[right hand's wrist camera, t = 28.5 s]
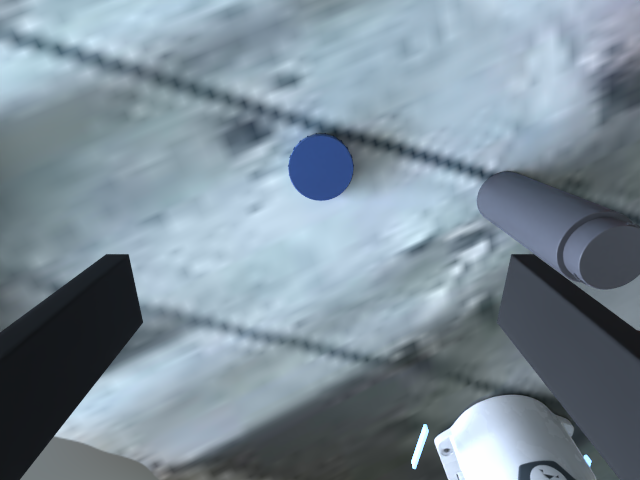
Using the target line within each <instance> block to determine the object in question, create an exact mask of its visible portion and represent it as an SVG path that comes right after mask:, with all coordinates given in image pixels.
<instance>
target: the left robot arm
mask: <svg viewBox="0 0 640 480" xmlns="http://www.w3.org/2000/svg"><path fill="white" fill-rule="evenodd" d="M573 432H574V427H573V426H572V424H571V422H570V421H569V420H568V419H566V418H564V417H561V416H558V415H555V414H554V413H552V412H551V411H550V410H549V409H548V407H547V406H545V405H544V404H543V403H542V402H540V401H538V400H536V399H534V398H531V397H528V396H523V395H501V396H496V397H492V398H489V399H486V400H483V401H481V402H479V403H477V404H475V405H473V406H472V407H470V408H469V409H467V410H466V411H465V412H464V413H463V414H462V415H461V416H460V417H459V418H458V419H457V420H456V422H455V423H454V424H453V425H452V426H451V427H450V428H449V429H447V430H446V431H444V432H442V433H441V434H439V435H438V436H437V437H436V438H435V441H434V442H435V445H436V448H437V451H438V453H439V456H440V459H441V461H442V464H443V466H444V469H445V472H446V474H447V477H448V480H597V479H596V476H595V474H594V473H593V471H592V470H591V468H590V465H591V460H590V459H589V457H588V456H587V455H584V457H583V455H582V454H581V452H580V451H579V449H578V447H577V446H576V444H575V443H574V441H573V440H572V438H571V437H572V435H573ZM427 434H428V428H427V425H425V424H424V426H423V429H422V432H421V435H420V438H419V441H418V444H417V447H416V450H415V453H414V455H413V458H412V461H411V462H412V466H413V469H415V468H416V466H417V463H418V460H419V457H420V454H421V451H422V448H423V446H424V443H425V440H426V437H427Z"/></svg>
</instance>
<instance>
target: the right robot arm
mask: <svg viewBox="0 0 640 480" xmlns="http://www.w3.org/2000/svg"><path fill="white" fill-rule="evenodd" d="M142 323H143V320H142V315H141V310H140V306H139V301H138V296H137V292H136V287H135V282H134V278H133V273H132V268H131V263H130V259H129V254H106V255H105V256H103V257H102V258H101V259H99V260H98V261H97V262H95V263H94V264H93V265H91V266H90V267H88V268H87V269H86V270H84V271H83V272H82V273H80V274H79V275H78V276H76V277H75V278H74V279H72V280H71V281H69V282H68V283H67V284H65V285H64V286H63V287H61V288H60V289H59V290H57V291H56V292H55V293H53V294H52V295H50V296H49V297H48V298H46V299H45V300H44V301H42V302H41V303H40V304H38V305H37V306H36V307H34V308H33V309H31V310H30V311H29V312H27V313H26V314H25V315H23V316H22V317H21V318H19V319H18V320H17V321H15V322H14V323H12V324H11V325H10V326H8V327H7V328H6V329H4V330H3V331H2V332H0V480H20V479H21V477H22V476H23V475H24V474H25V472H26V471H27V470H28V468H29V467H30V466H31V465H32V463H33V462H34V461H35V460H36V458H37V457H38V456H39V454H40V453H41V452H42V451H43V449H44V448H45V447H46V446H47V444H48V443H49V442H50V440H51V439H52V438H53V437H54V435H55V434H56V433H57V432H58V430H59V429H60V428H61V426H62V425H63V424H64V423H65V421H66V420H67V419H68V417H69V416H70V415H71V414H72V412H73V411H74V410H75V409H76V407H77V406H78V405H79V403H80V402H81V401H82V400H83V398H84V397H85V396H86V395H87V393H88V392H89V391H90V389H91V388H92V387H93V386H94V384H95V383H96V382H97V381H98V379H99V378H100V377H101V375H102V374H103V373H104V372H105V370H106V369H107V368H108V366H109V365H110V364H111V363H112V361H113V360H114V359H115V358H116V356H117V355H118V354H119V352H120V351H121V350H122V349H123V347H124V346H125V345H126V344H127V342H128V341H129V340H130V338H131V337H132V336H133V335H134V333H135V332H136V331H137V329H138V328H139V327H140V326H141V324H142ZM497 323H498V324H499V326H500V327H501V328H502V330H503V331H504V332H505V333H506V335H507V336H508V337H509V338H510V340H511V341H512V342H513V344H514V345H515V346H516V347H517V349H518V350H519V351H520V352H521V354H522V355H523V356H524V358H525V359H526V360H527V361H528V363H529V364H530V365H531V366H532V368H533V369H534V370H535V372H536V373H537V374H538V375H539V377H540V378H541V379H542V381H543V382H544V383H545V384H546V386H547V387H548V388H549V389H550V391H551V392H552V393H553V395H554V396H555V397H556V398H557V400H558V401H559V402H560V403H561V405H562V406H563V407H564V409H565V410H566V411H567V412H568V414H569V415H570V416H571V417H572V419H573V420H574V421H575V423H576V424H577V425H578V426H579V428H580V429H581V430H582V432H583V433H584V434H585V435H586V437H587V438H588V439H589V440H590V442H591V443H592V444H593V446H594V447H595V448H596V449H597V451H598V452H599V453H600V454H601V456H602V457H603V458H604V460H605V461H606V462H607V463H608V465H609V466H610V467H611V468H612V470H613V471H614V472H615V474H616V475H617V476H618V477H619V479H620V480H640V331H638V330H636V329H634V328H633V327H632V326H630V325H629V324H627V323H626V322H625V321H623V320H622V319H621V318H619V317H618V316H617V315H615V314H614V313H613V312H611V311H610V310H609V309H607V308H606V307H604V306H603V305H602V304H600V303H599V302H598V301H596V300H595V299H594V298H592V297H591V296H590V295H588V294H587V293H585V292H584V291H583V290H581V289H580V288H579V287H577V286H576V285H575V284H573V283H572V282H571V281H569V280H568V279H566V278H565V277H564V276H562V275H561V274H560V273H558V272H557V271H556V270H554V269H553V268H552V267H550V266H549V265H547V264H546V263H545V262H543V261H542V260H541V259H539V258H538V257H537V256H535V255H534V254H511V259H510V263H509V268H508V273H507V278H506V282H505V287H504V292H503V296H502V301H501V306H500V310H499V315H498V320H497Z"/></svg>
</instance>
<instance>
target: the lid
mask: <svg viewBox="0 0 640 480" xmlns="http://www.w3.org/2000/svg"><path fill="white" fill-rule="evenodd" d="M293 150H294V151H293V153H292V155H290V160H289V165H288V167H289V176H290V179H291V182H292V184H293V185H294V187H295V188H296V189H297V190H298V192H300V193H301V194H302V195H304V196H305V197H307V198H310V199H313V200H319V201H322V200H329V199H332V198H335V197H337V196H338V195H340V194H341V193H342V192H343V191H344V190H345V189H346V188H347V187H348V185H349V183H350V181H351V179H352V175H353V166H354V165H353V161H352V156H351V155H350V153H349V151H348V147H346V146H345V145H344V144H343V143H342V141H340V140H339V139H337V138H336V137H334V136H331V135H327V134H326V133H325V134H317V133H316V134H314V135H311V136H307V137H306V138H305V139H303V140H302V141H301V140H300V142H299V143H298V145H297V146H296V147H294V149H293Z"/></svg>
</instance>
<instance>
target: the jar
mask: <svg viewBox="0 0 640 480" xmlns="http://www.w3.org/2000/svg"><path fill="white" fill-rule="evenodd" d="M477 206H478V209H479V211H480V213H481V214H482V215H483V216H484V217H485V218H486V219H488V220H489V221H490V222H492V223H493V224H495V225H496V226H497V227H499V228H500V229H501V230H503V231H504V232H505V233H507V234H508V235H510V236H511V237H512V238H514V239H515V240H516V241H518V242H519V243H521V244H522V245H523V246H525V247H526V248H527V249H529V250H530V251H531V252H533V253H534V254H536V255H537V256H538V257H540V258H541V259H542V260H544V261H545V262H546V263H548V264H549V265H551V266H552V267H553V268H555V269H556V270H557V271H559V272H560V273H562V274H563V275H564V276H566V277H567V278H569V279H571V280H573V281H576V282H582V283H584V284H586V285H589V286H591V287H593V288H597V289H613V288H617V287H620V286H623V285H625V284H627V283H629V282H631V281H632V280H634V279H635V278H636V277H637V276H638V275H639V274H640V226H638V225H636V224H633V222H632V221H631V220H630V219H629V218H628V217H627V216H625V215H623V214H621V213H619V212H616V211H614V210H611V209H609V208H606V207H604V206H601V205H598V204H596V203H593V202H591V201H588V200H585V199H583V198H580V197H578V196H575V195H572V194H570V193H567V192H565V191H562V190H560V189H557V188H554V187H552V186H549V185H547V184H544V183H541V182H539V181H536V180H534V179H531V178H529V177H526V176H523V175H521V174H518V173H515V172H510V171H506V172H500V173H497V174H495V175H493V176H492V177H490V178H489V179H488V180H487V181H486V182H485V183H484V184H483V185H482V187H481V188H480V190H479V193H478V197H477Z"/></svg>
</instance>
